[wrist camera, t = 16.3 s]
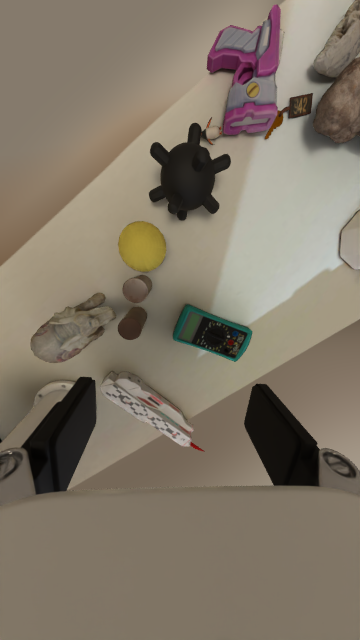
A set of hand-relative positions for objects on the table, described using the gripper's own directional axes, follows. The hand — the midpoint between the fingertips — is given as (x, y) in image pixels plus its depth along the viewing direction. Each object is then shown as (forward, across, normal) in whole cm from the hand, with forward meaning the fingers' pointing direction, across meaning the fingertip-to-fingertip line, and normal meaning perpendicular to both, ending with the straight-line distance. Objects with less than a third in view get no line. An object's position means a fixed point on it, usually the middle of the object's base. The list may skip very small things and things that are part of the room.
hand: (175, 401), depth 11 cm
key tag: (+25, -16, -31) cm, 43 cm away
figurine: (+27, +15, +4) cm, 31 cm away
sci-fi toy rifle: (+25, +11, +15) cm, 31 cm away
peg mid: (+26, +5, -4) cm, 27 cm away
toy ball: (+26, -2, -19) cm, 32 cm away
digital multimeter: (+26, -9, +4) cm, 28 cm away
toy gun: (+24, -3, -33) cm, 41 cm away
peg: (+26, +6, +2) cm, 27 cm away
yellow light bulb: (+26, +4, -10) cm, 28 cm away
